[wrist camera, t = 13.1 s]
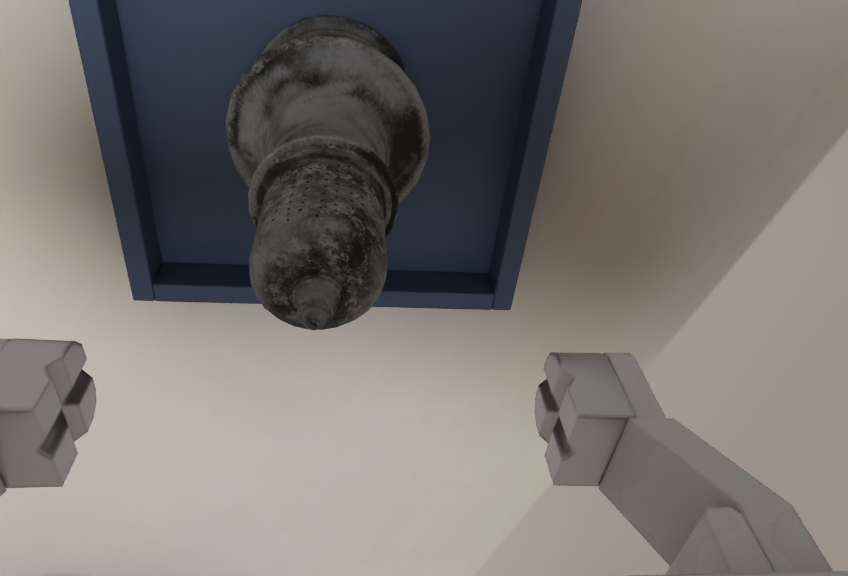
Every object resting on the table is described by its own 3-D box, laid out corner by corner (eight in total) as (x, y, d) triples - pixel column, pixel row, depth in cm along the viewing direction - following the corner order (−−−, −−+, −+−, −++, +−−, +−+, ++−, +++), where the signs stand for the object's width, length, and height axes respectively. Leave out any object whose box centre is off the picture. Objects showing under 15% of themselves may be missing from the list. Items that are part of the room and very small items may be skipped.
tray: (587, -120, 18) (609, -114, 17) (501, 281, 27) (510, 310, 25) (59, -182, 17) (27, -183, 15) (147, 270, 25) (132, 301, 23)
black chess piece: (205, 70, 20) (67, 295, 11) (355, -36, 19) (355, 114, 9) (315, 205, 23) (286, 470, 14) (451, 123, 22) (524, 356, 12)
